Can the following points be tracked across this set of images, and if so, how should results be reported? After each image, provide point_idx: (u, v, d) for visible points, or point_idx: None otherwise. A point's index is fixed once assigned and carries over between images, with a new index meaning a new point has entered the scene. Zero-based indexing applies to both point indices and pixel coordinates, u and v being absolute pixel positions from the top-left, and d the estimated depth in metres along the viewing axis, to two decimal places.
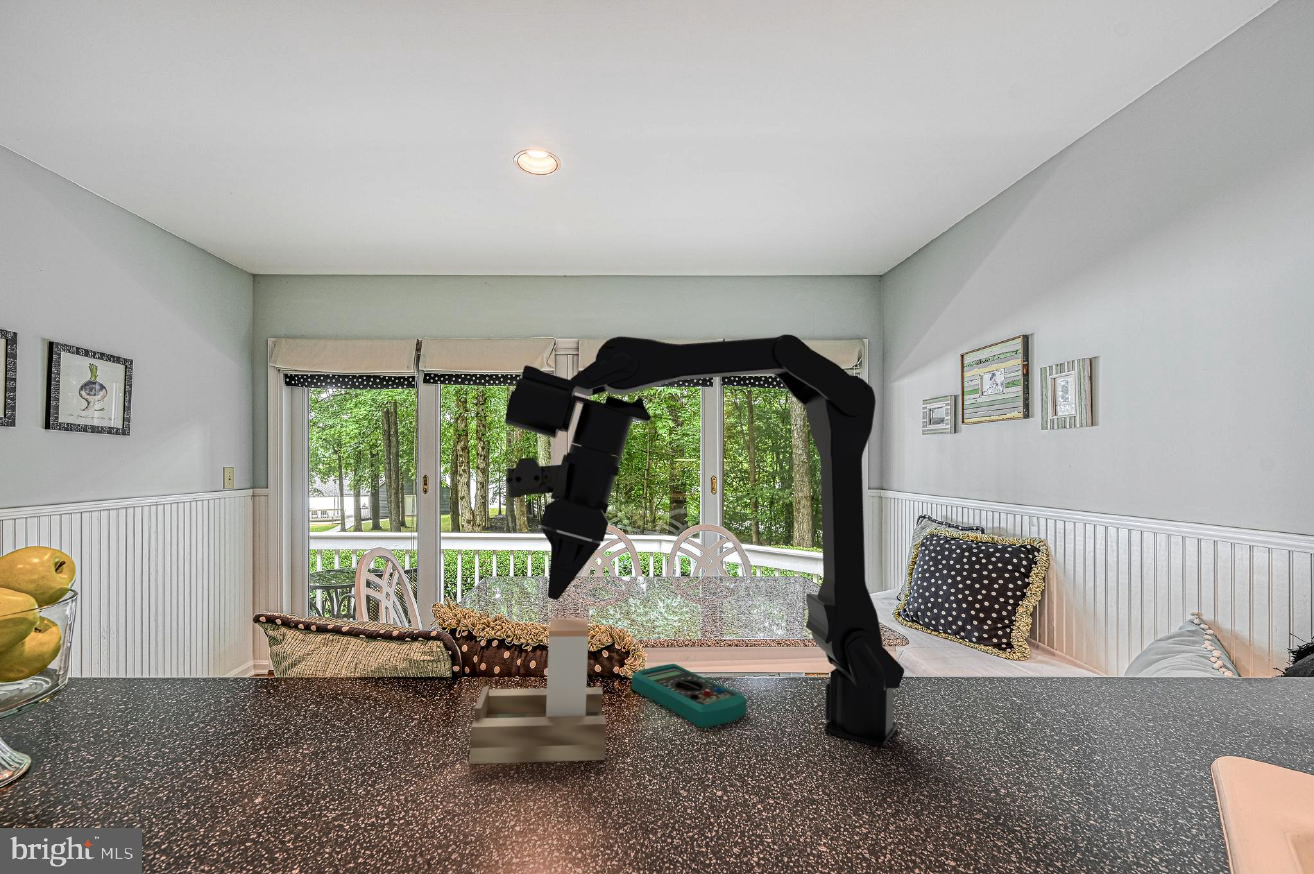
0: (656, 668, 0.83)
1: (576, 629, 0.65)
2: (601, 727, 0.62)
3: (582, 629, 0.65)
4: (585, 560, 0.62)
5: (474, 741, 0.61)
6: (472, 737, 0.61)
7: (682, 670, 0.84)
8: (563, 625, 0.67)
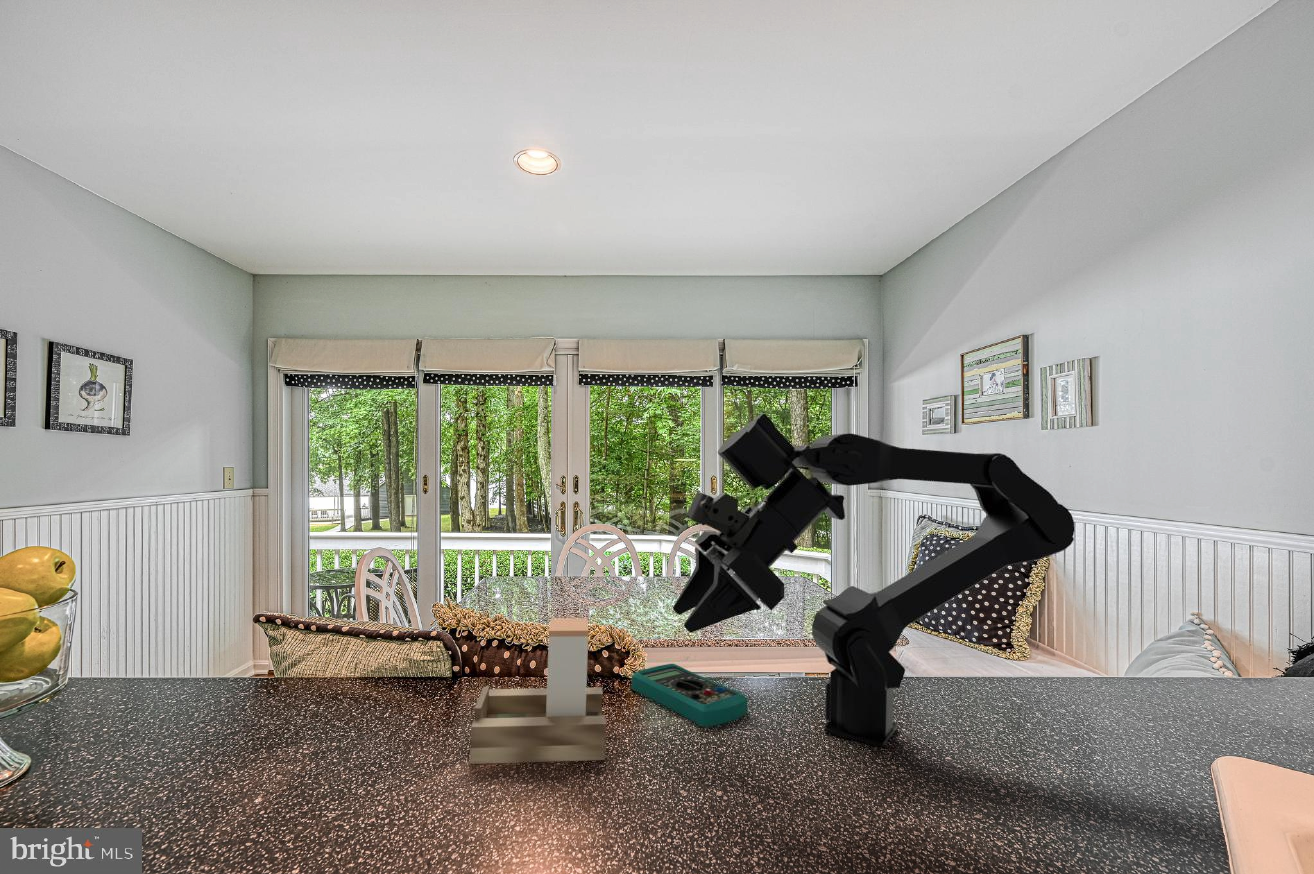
0: (655, 668, 0.83)
1: (576, 629, 0.65)
2: (601, 727, 0.62)
3: (582, 629, 0.65)
4: (737, 613, 0.64)
5: (474, 741, 0.61)
6: (472, 737, 0.61)
7: (681, 670, 0.84)
8: (563, 625, 0.67)
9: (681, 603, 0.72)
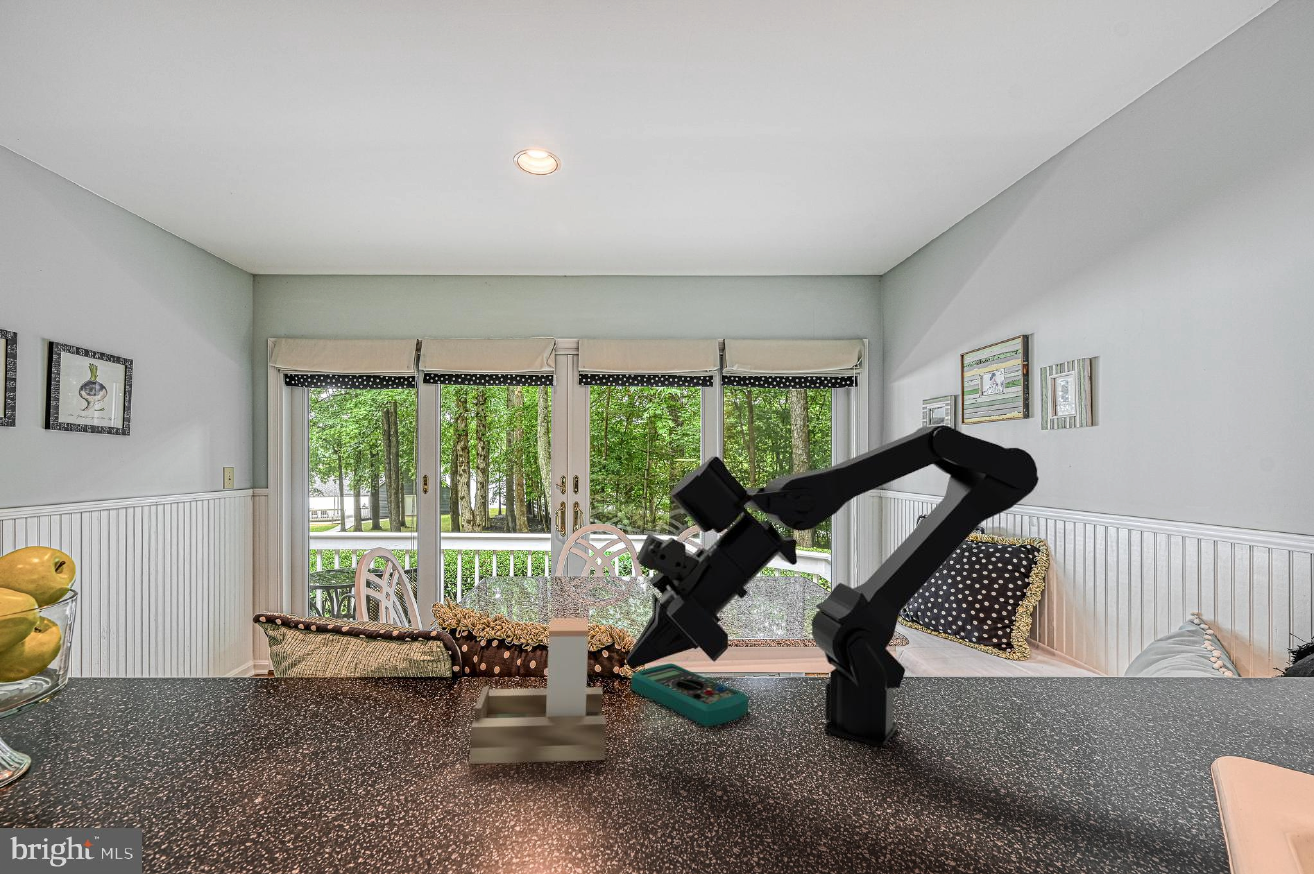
0: (655, 668, 0.83)
1: (576, 629, 0.65)
2: (601, 727, 0.62)
3: (582, 629, 0.65)
4: (676, 651, 0.67)
5: (474, 741, 0.61)
6: (472, 737, 0.61)
7: (680, 669, 0.84)
8: (563, 625, 0.67)
9: None
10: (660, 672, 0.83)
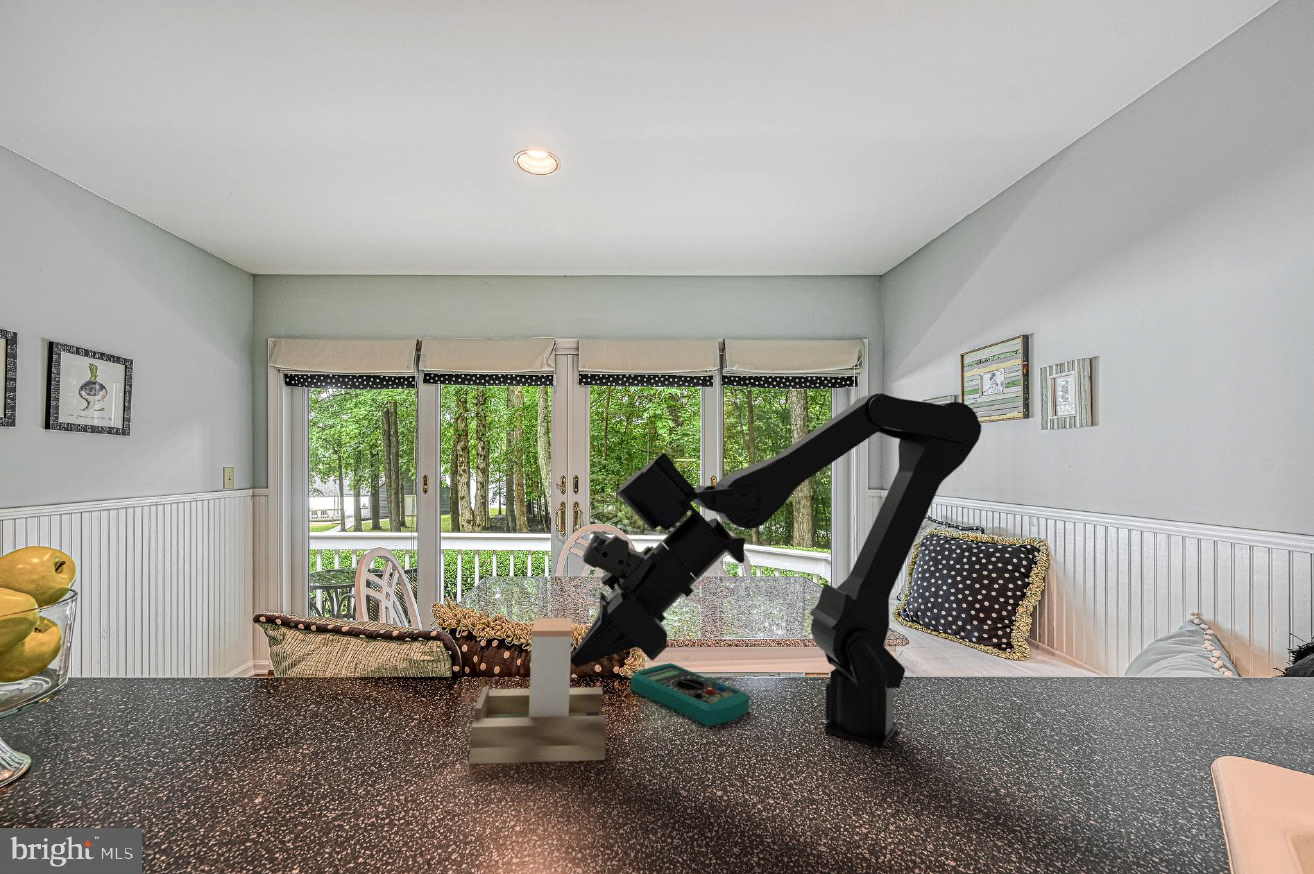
0: (654, 668, 0.83)
1: (559, 629, 0.65)
2: (601, 727, 0.62)
3: (565, 629, 0.65)
4: (620, 650, 0.66)
5: (474, 741, 0.61)
6: (472, 737, 0.61)
7: (680, 669, 0.84)
8: (547, 625, 0.66)
9: None
10: (659, 672, 0.83)
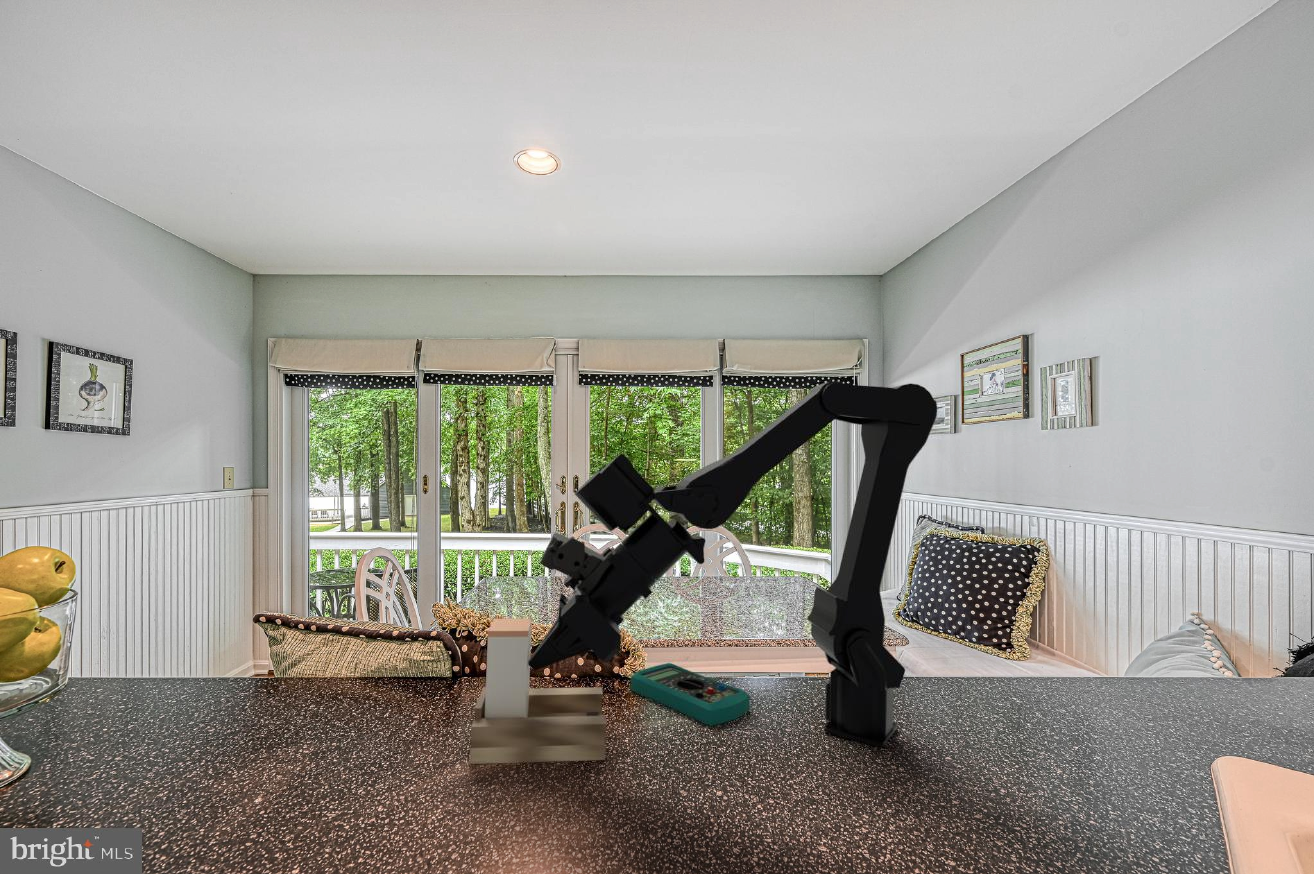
0: (653, 668, 0.83)
1: (516, 629, 0.65)
2: (601, 727, 0.62)
3: (522, 629, 0.65)
4: (578, 652, 0.65)
5: (474, 741, 0.61)
6: (472, 737, 0.61)
7: (679, 669, 0.84)
8: (504, 625, 0.66)
9: None
10: (659, 672, 0.83)
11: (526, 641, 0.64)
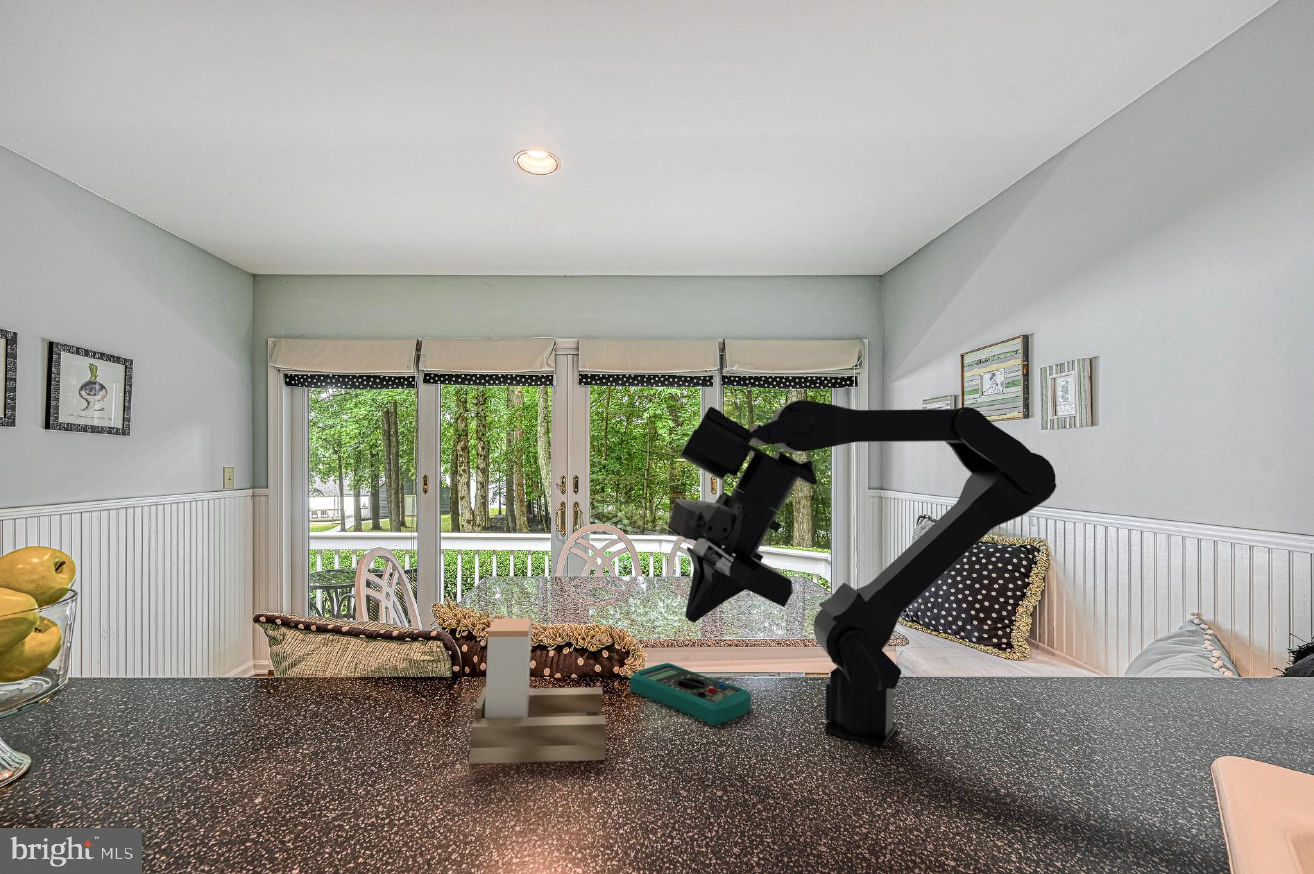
0: (652, 668, 0.83)
1: (516, 629, 0.65)
2: (601, 727, 0.62)
3: (522, 629, 0.65)
4: (731, 596, 0.71)
5: (474, 741, 0.61)
6: (472, 737, 0.61)
7: (678, 669, 0.84)
8: (504, 625, 0.66)
9: None
10: (658, 672, 0.83)
11: (526, 641, 0.64)
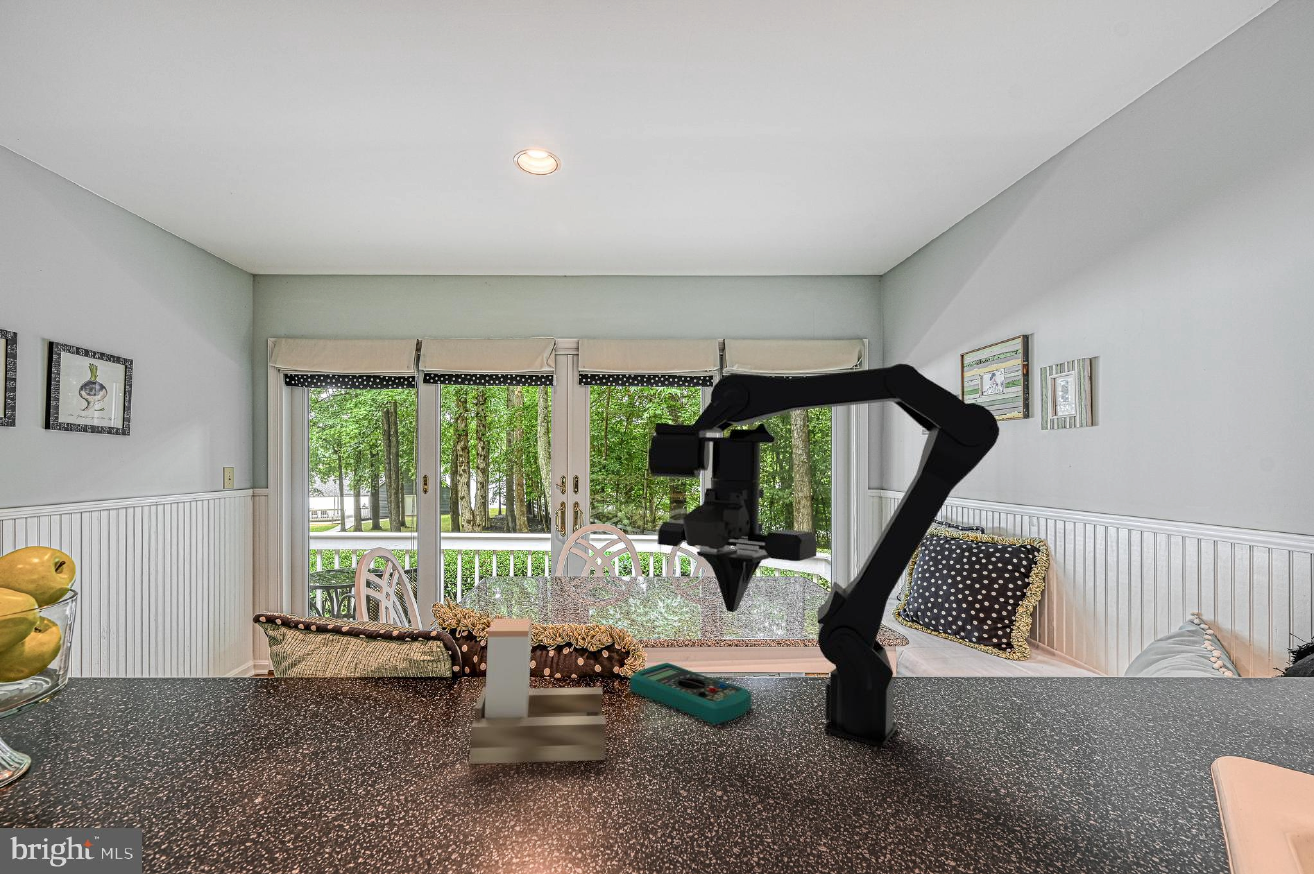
0: (652, 668, 0.83)
1: (516, 629, 0.65)
2: (601, 727, 0.62)
3: (522, 629, 0.65)
4: (755, 570, 0.76)
5: (474, 741, 0.61)
6: (472, 737, 0.61)
7: (677, 668, 0.84)
8: (504, 625, 0.66)
9: None
10: (657, 672, 0.83)
11: (526, 641, 0.64)
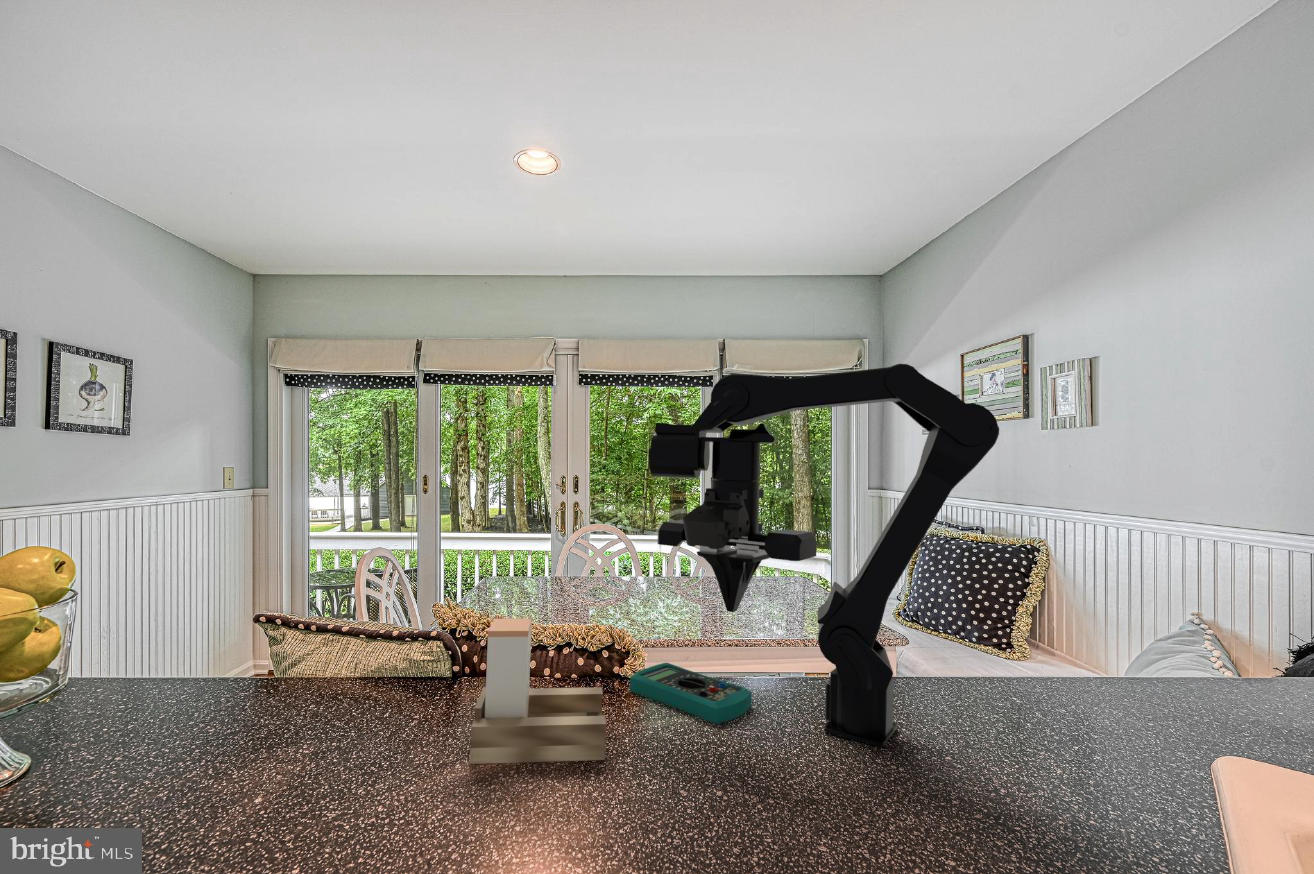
0: (651, 668, 0.83)
1: (516, 629, 0.65)
2: (601, 727, 0.62)
3: (522, 629, 0.65)
4: (755, 570, 0.76)
5: (474, 741, 0.61)
6: (472, 737, 0.61)
7: (676, 668, 0.84)
8: (504, 625, 0.66)
9: None
10: (657, 672, 0.83)
11: (526, 641, 0.64)
